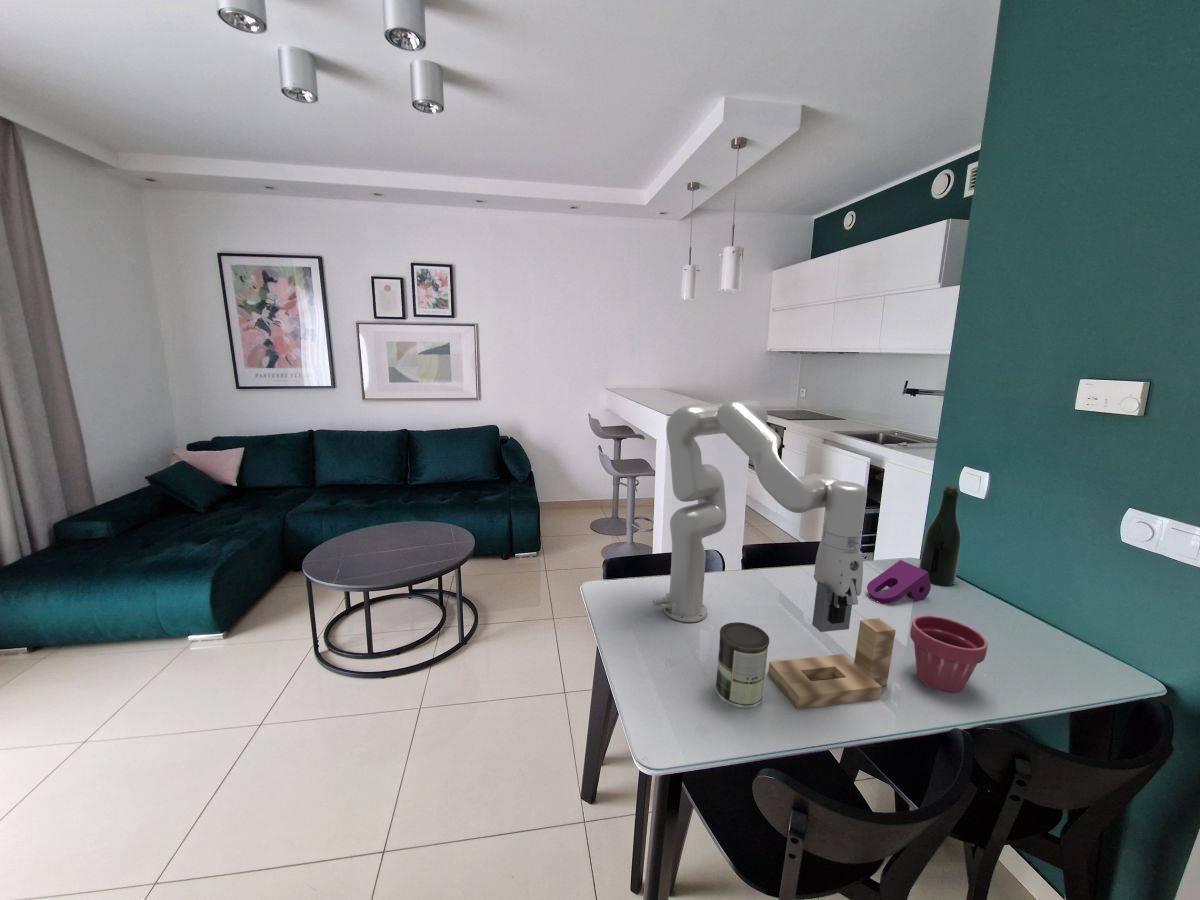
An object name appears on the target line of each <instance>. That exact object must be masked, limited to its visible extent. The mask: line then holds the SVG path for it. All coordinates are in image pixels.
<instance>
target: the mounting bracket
mask: <svg viewBox="0 0 1200 900" xmlns="http://www.w3.org/2000/svg"><path fill="white" fill-rule="evenodd" d="M931 584H932V583H930V579H929V574H928V572H927V571H925V570H923V569H920V568H919V567H918V566H915V565H913V564H911V563H909V562H907V561H904V560H902V559H900V560H898V561H897V562H896V563H894V564H893V565H891V566H889V567H888V568H887V569H886V570H885V571H883V572H882V573H880V574H879V575H877V576H876V577H874V578H873V579H872V580H870V581H869V582H868V584H867V585H866V591H867V595H868V597H869V596H870V597H869V598H870V599H871V598H872V599H871V600H873V601H874V600H875V602H877V601H878V602H877V603H879V602H880V603H879V604H893V603H896V602H898V601H899V600H900V599H902V598H903V597H904V596H906V597H908V598H909V599H911V600H913V601H916V602H921V601H924V600H925V599H926V598H927V597H928V595H929V593H930V592H931V587H932V585H931ZM886 587H888V590H886V591H885V592H884V593H879V592H881V591H883V589H885V588H886Z"/></svg>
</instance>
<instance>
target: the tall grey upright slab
mask: <svg viewBox="0 0 1200 900" xmlns="http://www.w3.org/2000/svg"><path fill="white" fill-rule="evenodd" d="M816 583H817V582H816ZM815 589H816V591H815V597H814V607H813V614H812V615H813V616H812V621H811V622H812V624H811V625H812V626H813V627H814V628H815V629H816V630H818V631H819V632H820V633H824V632H833V631H834V632H835V631H846V630H849V629H850V623H851V614H852V607H853V605H849V606H848V607H846V611H845V618H844V622H843V623H836V624H832V623H830V614H831V606H834V592H833V591H831V588H829V587H828V586H826V585H825V584H823V583H817V584H816V588H815ZM842 599H843V597H840V600H842Z"/></svg>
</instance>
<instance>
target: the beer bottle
mask: <svg viewBox="0 0 1200 900" xmlns="http://www.w3.org/2000/svg"><path fill="white" fill-rule="evenodd" d="M958 490H959V489H958V487H957V486H952V485H947V486H945V487H944V489H943V491H942V495H941V496H942V497H941V502H940V506H939V509H938V512H937V514H936V515H935V517H934V519H933V520H932V521H931V522H930V524H929V526H928V528H927V529H926V532H925V537H924V541H923V546H922V551H921V555H920V556H921V557H920V560H919V567H918V568H920V569H923V570H925V571H927V572H928V574H929V579H930V583H931V584H932V585H938V586H942V587H943V586H945V587H947V586H949V587H950V586H952V585H954V584H955V582H956V577H957V570H958V565H959V559H960V552H961V546H962V545H961V544H962V533H961V529H960V525H959V522H958V519H957V518H958V517H957V507H958V499H959V496H960V493H959V491H958Z"/></svg>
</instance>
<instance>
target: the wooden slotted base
mask: <svg viewBox="0 0 1200 900" xmlns="http://www.w3.org/2000/svg"><path fill="white" fill-rule="evenodd" d="M858 627H859V629H858V635H857V641H856V642H857V643H856V647H855V655H854V661H853V660H852V659H851V658H849V657H848V655H846V654H845V653H841V654H840V653H839V654H831V655H822V656H812V657H805V658H804V657H802V658H795V659H784V660H777V661H776V660H775V661H769V662H768V671H767V674H768V676H769V677H770V678H772V680H773V682H775V684H776V685H777V686H778V687H779V689H780V690H781V691H782V692H783V693H784V694H785V696H786V697H787V698H788V699H789V701H791V703H792V704H793V705H794V706H795V707H796V709H797V708H798V710H801V709H811V708H819V707H825V706H831V705H833V706H835V705H839V704H840V705H841V704H847V703H855V702H862V701H870V700H877V699H880V698H881V690H882V687H885V686H888V682H889V676H890V675H889V673H890V670H891V669H890V668H891V662H892V655H893V649H894V642H895V637H896V631H897V630H896V629H895V628H894V627H892V626H891V625H890V624H888V623H886V621H884V620H882V619H881V618H880V617H879V618H876V617H875V618H870V619H869V618H868V619H860V620H859V626H858ZM818 706H819V707H818Z"/></svg>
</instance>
